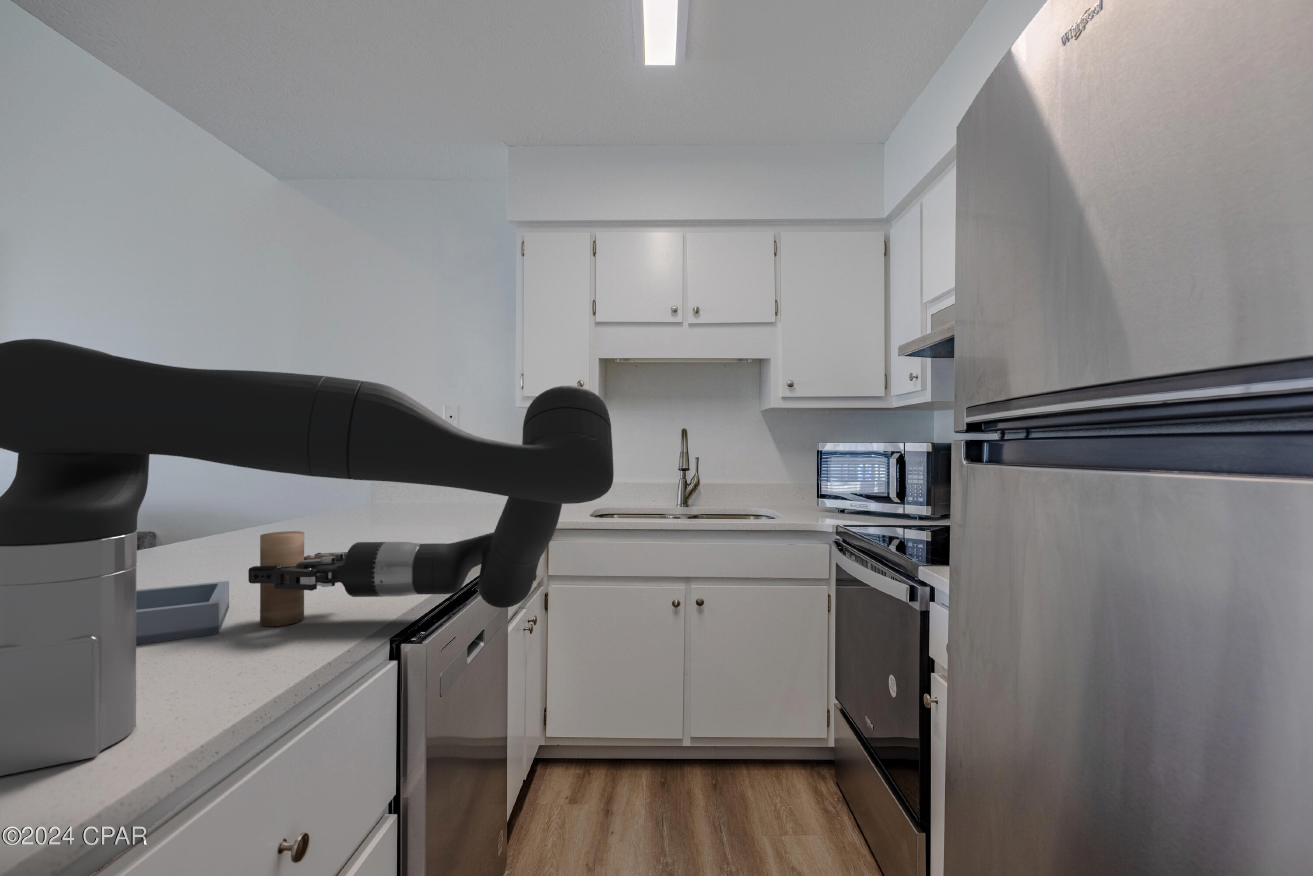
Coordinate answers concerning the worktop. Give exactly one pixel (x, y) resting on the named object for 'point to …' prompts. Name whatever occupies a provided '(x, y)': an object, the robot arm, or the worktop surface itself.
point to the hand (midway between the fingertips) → (263, 570)
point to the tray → (180, 611)
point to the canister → (287, 602)
